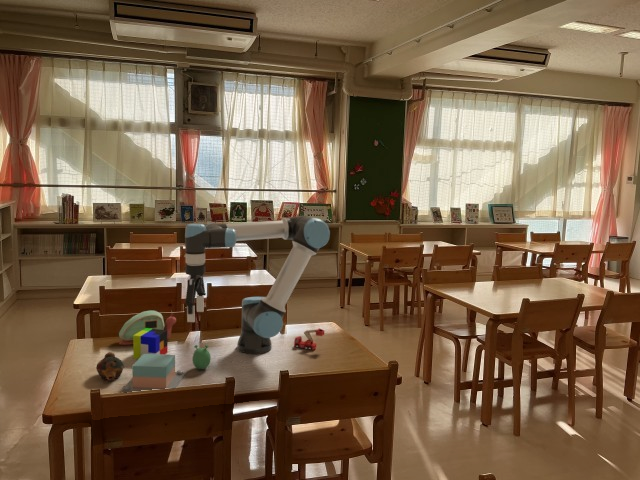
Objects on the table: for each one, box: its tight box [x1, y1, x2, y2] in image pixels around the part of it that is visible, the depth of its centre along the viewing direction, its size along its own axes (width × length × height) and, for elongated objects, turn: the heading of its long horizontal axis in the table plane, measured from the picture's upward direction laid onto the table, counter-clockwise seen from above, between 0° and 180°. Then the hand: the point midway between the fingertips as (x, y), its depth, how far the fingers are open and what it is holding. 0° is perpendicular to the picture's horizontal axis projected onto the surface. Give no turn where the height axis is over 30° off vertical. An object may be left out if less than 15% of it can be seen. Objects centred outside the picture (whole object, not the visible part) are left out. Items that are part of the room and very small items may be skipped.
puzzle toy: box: [132, 328, 169, 360], centre depth 222 cm, size 10×10×10 cm
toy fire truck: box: [293, 328, 325, 351], centre depth 237 cm, size 3×14×10 cm, turn 68°
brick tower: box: [120, 354, 186, 392], centre depth 195 cm, size 18×18×9 cm
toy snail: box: [118, 310, 177, 346], centre depth 239 cm, size 25×8×14 cm, turn 116°
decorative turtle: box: [96, 351, 125, 381], centre depth 199 cm, size 10×15×8 cm, turn 28°
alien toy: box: [192, 344, 212, 370], centre depth 210 cm, size 7×8×10 cm
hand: (195, 316), depth 209 cm, fingers open, 13 cm apart
